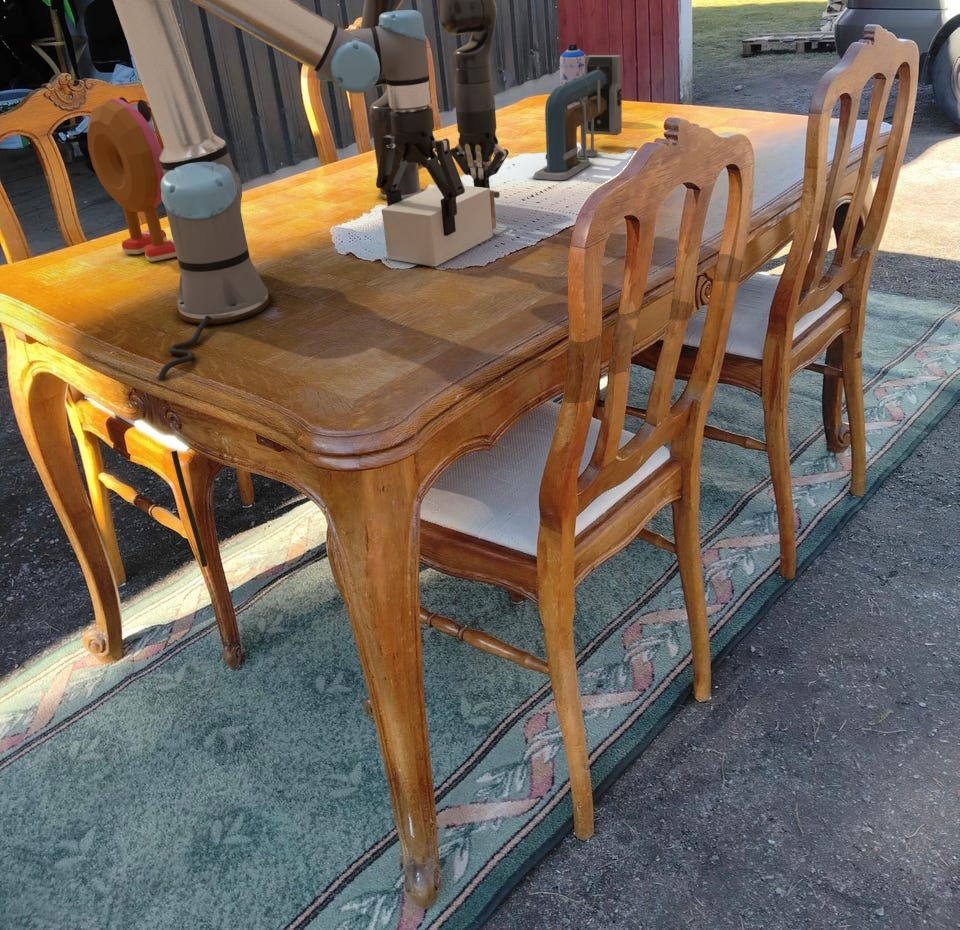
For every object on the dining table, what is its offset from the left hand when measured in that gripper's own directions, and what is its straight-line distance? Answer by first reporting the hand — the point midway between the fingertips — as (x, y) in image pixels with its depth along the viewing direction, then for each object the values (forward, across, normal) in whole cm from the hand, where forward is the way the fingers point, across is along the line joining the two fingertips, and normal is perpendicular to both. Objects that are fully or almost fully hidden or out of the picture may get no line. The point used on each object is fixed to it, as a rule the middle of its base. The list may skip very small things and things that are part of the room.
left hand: (423, 229), depth 181 cm
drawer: (+4, 0, -10) cm, 11 cm away
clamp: (+5, +8, -71) cm, 72 cm away
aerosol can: (+5, +33, -113) cm, 118 cm away
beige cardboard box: (+5, 0, -5) cm, 7 cm away
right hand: (-1, 0, -19) cm, 19 cm away
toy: (+5, +54, +20) cm, 58 cm away
